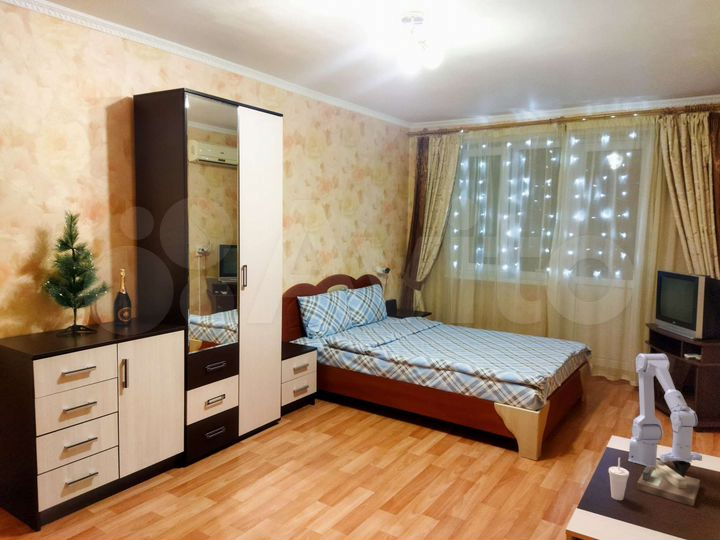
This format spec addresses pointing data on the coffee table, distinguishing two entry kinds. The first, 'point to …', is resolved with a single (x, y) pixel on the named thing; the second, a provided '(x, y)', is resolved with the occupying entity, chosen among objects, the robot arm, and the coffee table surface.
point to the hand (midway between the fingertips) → (679, 479)
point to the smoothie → (618, 481)
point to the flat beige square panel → (668, 487)
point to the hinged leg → (670, 475)
